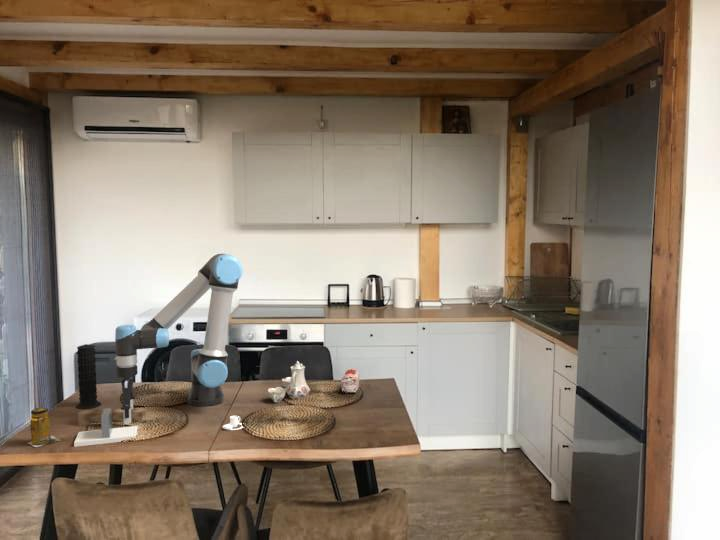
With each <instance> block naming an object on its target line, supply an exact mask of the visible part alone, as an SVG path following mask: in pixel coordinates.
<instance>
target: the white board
mask: <svg viewBox="0 0 720 540" xmlns="http://www.w3.org/2000/svg"><path fill="white" fill-rule="evenodd" d="M137 429H138V430H139V425H135V426H132V425H131V426H122V427H114V428H113V427H112V432H111V435H110V438H103V439H102V429H97V430H96V429H95V430H85V431H79V432H78V434H77V435H76V438H75V440H74V441H73V446H74V448H76V447H84V446H93V445H95V446H96V445H104V444H112V443H121V441H122V440H126V439H130V438H136V435H137V436H138V433H137ZM136 439H137V438H136Z"/></svg>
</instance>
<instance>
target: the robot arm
mask: <svg viewBox="0 0 720 540" xmlns="http://www.w3.org/2000/svg"><path fill="white" fill-rule="evenodd" d="M243 272H244V271H243V266H242V262H241V261H240V260H239V259H238V258H237V257H235V256H234V255H231V254H226V253H217V254H215V255H213V256H212V257H211V258H209V260H208V261H207V262H206V263H205V264H204V265H203V266H202V267H201V268H200V269H199V270H198V271H197V276H195V277H194V278H193V279H192V280H191V281H190V282H189V283H188V284H187V285H186V286H185V287H184V288H183V289H182V290H181V291H179V292H178V293H177V295H175V296H174V297H173V298H172V299H171V300H170V301H169V302H168V303H167V304H166V305H165V306H164V307H163V308H162V309H161V310H160V311H159V312H158V313H157V314H156V315H155V316H154V317H152V318H151V319H150V321H148V322H146V323H144V324H143V325H142V326H141V328H140V329H138V328H137V326H136V325H133V324H123V325H119V326H117V327H116V328H115V332H114V333H115V334H114V335H115V337H114V339H115V342H114V343H115V357H114V360H115V361H116V377H118V378H123V379H121V386H122V388H121V391H122V407H121V408H120V409H121V410H123V422H124V424H129V423H131V409H134V400H135V398H136V396H134V391H133V387H134V378H133V377H135V376H137V375H138V365H137V364H138V352H137V350H143V349H144V350H145V349H157V348H159V349H161V348H166V347H168V346H169V343H170V335H169V329H170V328H171V327H172V326H173V325H174V324H175V323H176V321H178V320H179V319H180V318H181V317H182V316H183V315H184V314H185V313H186V312H187V311H188V310H189V309H190V308H191V307H192V306H194V304H196V303H197V302H198V300H200V299H201V298H202V297H203V296H204V295H205V294H206V293H208V291H209V290H210V289H211V293H210V299H209V306H208V307H209V308H208V315H207V320H206V321H207V322H206V327H205V334H204V335H205V336H204V341H203V347H202V348H199V349H198V348H197V349H193V350H191V353H190V364H191V365H190V366H191V368H190V369H191V373H190V374H191V386H190V390H189V393H188V396H187V403H188V405H189V406H190V405H191V406H193V407H209V406H215V405H219V404H221V403H223V402H224V400H225V393H224V391H223V388H222V386H221V385H223V383H225V382H226V379H227V378H228V366H227V365H228V356H229V354H228V353H227V351H226V344H227V343H226V342H227V336H228V330H229V329H228V328H229V323H230V316H231V308H232V304H233V303H232V302H233V294H234V293H235V292H236V291H237V290H238V285H239V281H240V279H241V278H242V276H243ZM124 424H123V425H124Z"/></svg>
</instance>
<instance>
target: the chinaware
mask: <svg viewBox="0 0 720 540" xmlns="http://www.w3.org/2000/svg"><path fill="white" fill-rule="evenodd" d="M299 361H300V360H299ZM299 361H298V360H296V362H295V364H294V365H292V366H290V369H291V376H287V377H284V378H281V382H282V383H283V386H284V388H283V387H282V386H277V387H275V388H274V387H269V388H268V389H267V391H266V392H267V393H268V395H269V396H268V397H269V398H270V399H271V400H272V401H273V402H274V403H281V402H282V400H283V399H284V398H285V396H286V394H287V395H288V397H289V396H291V397H304V396H306V395H307V396H308V395H309V394H310V393H311V389H310V387H309V386H308V383H307V382H306V378H305V368H306V366H305V365H303V363H300V362H299Z"/></svg>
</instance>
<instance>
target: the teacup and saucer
mask: <svg viewBox="0 0 720 540" xmlns="http://www.w3.org/2000/svg"><path fill="white" fill-rule="evenodd" d="M238 425H240V427H239V428H238ZM243 428H244V427H243V426H242V422H241V417H240V416H239V415H231V416H229V423H226V424H224V425H222V429H224V430H228V431H237V430H241V429H243Z"/></svg>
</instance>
